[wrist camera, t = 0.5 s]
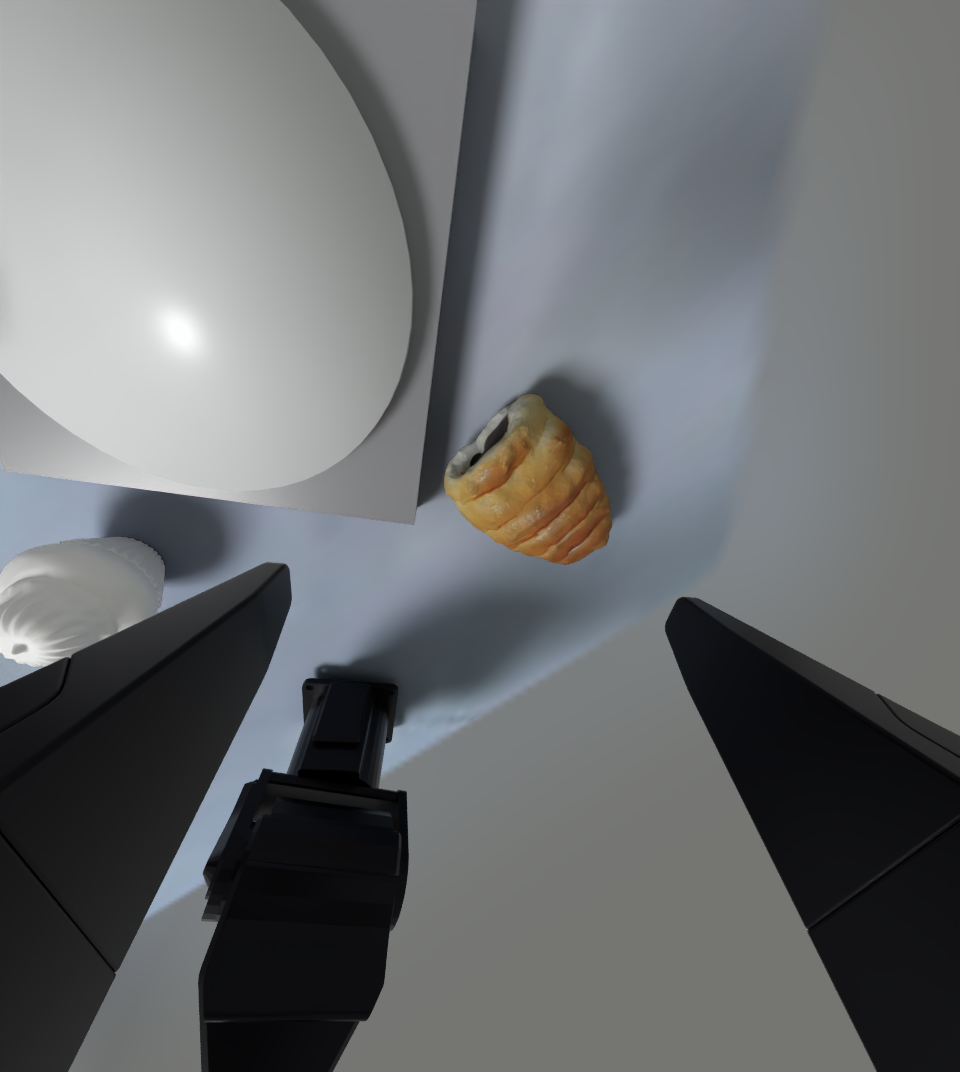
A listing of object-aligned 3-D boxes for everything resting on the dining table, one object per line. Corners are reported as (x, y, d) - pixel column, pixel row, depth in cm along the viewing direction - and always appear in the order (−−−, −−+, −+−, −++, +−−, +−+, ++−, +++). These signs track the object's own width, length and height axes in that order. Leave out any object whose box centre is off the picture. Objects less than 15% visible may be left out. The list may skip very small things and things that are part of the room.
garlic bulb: (184, 615, 24) (93, 716, 18) (67, 580, 22) (-78, 680, 16) (202, 539, 21) (105, 627, 15) (73, 493, 20) (-96, 571, 13)
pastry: (630, 498, 22) (665, 530, 19) (543, 572, 24) (561, 613, 20) (521, 377, 18) (541, 390, 15) (427, 478, 20) (426, 509, 17)
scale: (416, 508, 21) (404, 583, 15) (-28, 446, 18) (-267, 511, 12) (474, 28, 13) (499, -235, 7) (-349, -252, 10) (-1755, -1258, 3)
